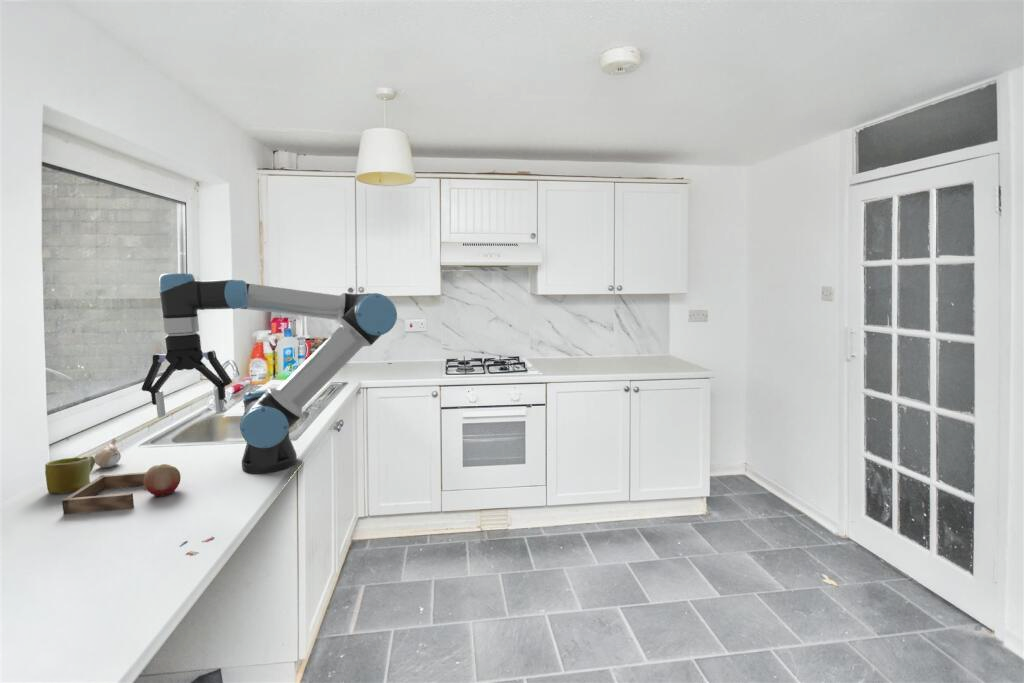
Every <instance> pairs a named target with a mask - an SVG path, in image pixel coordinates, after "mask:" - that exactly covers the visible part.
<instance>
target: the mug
mask: <svg viewBox="0 0 1024 683" xmlns="http://www.w3.org/2000/svg"><path fill="white" fill-rule="evenodd" d="M94 457H95V456H93V455H85V456H82V457H78V456H77V457H68V458H67V457H66V458H60V459H54V460H51V461H48V462H46V463H45V464H44V465H45V466H44V467H45V468H44V470H45V472H44V473H45V481H46V482H45V483H46V488H47V492H48V493H50V494H51V495H55V494H57V495H58V494H59V495H60V494H66V493H75V492H76V491H78V490H79V489H81V488H83V487H84V486H86V485H87V484H89V483H90V482H91V479H90V478H91V477H90V475H91V472H92V471H93V470H94V466H95V465H96V463H95V459H94Z"/></svg>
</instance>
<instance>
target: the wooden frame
mask: <svg viewBox="0 0 1024 683" xmlns="http://www.w3.org/2000/svg"><path fill="white" fill-rule="evenodd" d="M146 472H147V471H145V472H143V471H142V472H132V473H131V472H130V473H129V472H128V473H115V474H105V475H104V474H103V475H100V476H98V477H97V478H95V479H94V480H92V481H90V483H89V484H87V485H86V486H84V487H83V488H81V489H79V490H78V491H76V492H72V494H70V495H68V496H67V497H64V498H63V499H62V500H61V503H62V511H63V512H62V513H63V514H62V515H74V514H83V513H84V514H86V513H93V512H94V513H95V512H96V513H97V512H106V511H107V512H108V511H119V510H127V509H128V510H129V509H132V508H134V506H135V504H134V503H135V501H134V494H133V492H130V493H129V492H126V493H115V494H113V493H112V494H105V495H104V494H103V495H99V494H101V493H102V492H104V491H105V490H111V489H112V490H115V489H125V488H135V487H136V488H137V487H145V486H144V476H145V474H146Z"/></svg>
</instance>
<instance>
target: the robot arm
mask: <svg viewBox="0 0 1024 683" xmlns="http://www.w3.org/2000/svg"><path fill="white" fill-rule="evenodd" d="M159 294H160V295H159V296H160V302H161V310H162V320H163V331H164V333H165V334H166V336H165V337H164V338H165V346H166V354H163V353H156V354H153V355H152V364H151V366H150V369H149V370H148V372H147V375H146V377H145V379H144V382H143V384H142V386H141V390H142V391H143V392H149V393H150V395H151V397H150V398H151V403H152V405H153V406H156V413H157V418H158V419H159V418H161V419H162V418H163V417H165V416H166V408H165V398H164V391H163V390H161V388H163V386H164V384H165V383H166V382H167V381H168V379H169V378H170V377H171V376H172V375H173V373H174V372H175V371H176V370H177V371H184V370H188V371H191V370H194V369H195V370H196V371H198V372H199V373H201V374H202V375H203V376H204V377H205V378H206V379H207V380H208V381H209V382H211V383H212V384H213V385H214V386H215V388H214V389H213V393H214V402H215V411H216V414H220V413H222V412H223V411H224V408H223V400H224V399H226V388H225V387H226V386H229V385H230V384H232V382H233V380H232V379H231V377H230V375H228V373H227V371H226V370H225V368H224V367H223V366H222V364H221V363H220V361H219V360H218V358H217V353H216V351H215V350H214V349H213V350H209V351H206V352H203V351H202V345H201V344H202V342H201V335H200V334H199V331H200V326H199V317H198V316H199V314H198V311H199V310H200V311H204V310H229V309H230V310H237V309H240V310H250V311H251V310H252V311H259V312H268V313H277V314H283V315H292V316H293V315H294V316H302V317H311V318H318V319H324V320H325V319H326V320H335V321H337V322H338V323H339V324H340V326H339V327H338V328H336V330H335V331H334V332H333V333H332V334H331V335H329V337H328V338H327V339H326V340H325V341H324V342H323V343H321V345H320V346H319V347H318V348H317V349H316V350H315V351H314V352H313V353H311V355H310V356H309V357H308V358H307V359H305V361H303V363H302V364H300V366H299V367H297V369H295V370H294V372H293V373H291V374H290V375H289V377H287V378H286V380H284V381H283V382H282V383H280V385H279V386H278V387H275V388H274V387H273V388H271V387H270V388H268V389H264V390H263V389H262V390H261V389H259V390H254V391H247V392H245V393H244V394H243V400H242V402H243V405H244V408H243V409H244V412H243V415H242V417H241V419H240V422H239V431H240V434H241V437H242V438H243V439H244V440H245V442H246V445H245V447H244V451H243V456H242V458H241V470H242V471H244V472H246V473H250V474H263V473H264V474H266V473H273V472H278V471H281V470H284V469H285V470H286V469H287V468H290V467H292V466H294V465H295V464H296V463H297V461H298V459H297V458H298V457H297V456H298V455H297V452H296V450H295V448H294V445H293V442H292V441H291V438H290V429H291V428H292V427H293V426H294V424H296V423H297V421H299V420H300V419H301V418H302V417H303V408H304V407H305V406H306V405H307V404H308V403H309V402H310V401H311V399H312V398H313V397H315V396H316V395H317V394H318V392H319V391H320V390H321V389H322V388H324V387H325V386H326V384H328V382H329V381H330V380H331V379H333V377H334V376H335V375H336V374H338V372H339V371H340V370H341V369H342V368H343V367H344V366H345V365H346V364H348V362H349V361H350V360H351V359H352V358H353V357H354V356H355V355H357V353H358V352H360V350H361V349H362V348H363V347H371V346H373V344H375V343H376V342H377V340H378V339H380V337H381V336H384V335H386V334H387V333H389V332H390V331H391V330H392V329H393V328H394V327H395V324H396V323H397V319H398V312H397V308H396V306H395V304H394V302H393V301H392V300H391V299H390V298H388V297H387V296H386V295H384V294H382V293H377V292H376V293H375V292H374V293H373V292H372V293H346V292H343V293H341V294H340V295H337V294H336V295H335V294H328V293H322V292H314V291H309V290H308V291H307V290H300V289H293V288H292V289H291V288H286V287H278V286H277V287H276V286H268V285H264V284H263V285H262V284H255V283H247V282H246V281H245V280H243V279H242V280H241V279H238V280H237V279H222V280H221V279H220V280H196V279H195V277H194V275H193V274H192V273H185V272H184V273H162V274H161V275H160V276H159ZM203 358H205V359H206V360H207V361H209V363H210V365H211V367H212V368H213V369H214V371H215V373H213V371H212V370H211V369H210V368H208V367H207V366H206V364H205V363H204V362H202V360H203ZM165 360H166V361H167V362H168V363H169V365H168V366H167V367H166V369H165V370H164V372H163V373H162V374H161V375H160V377H159V378H158V379H157V380H156V382H155V383H154V381H155V379H156V377H157V375H158V373H159V370H160V369H161V367H162V363H164V362H165ZM216 374H217V375H218V376H217V375H216Z"/></svg>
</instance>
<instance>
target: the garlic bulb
mask: <svg viewBox="0 0 1024 683" xmlns="http://www.w3.org/2000/svg"><path fill="white" fill-rule="evenodd" d="M117 442H118V440H117V439H116V438H114V437H113V438H112V439H111V442H110V443H108V444H107V445H106V446H104V447H103V448H102V449H100V450H99V451H97V452H96V453H95V454H94V456H93V457H94V459H95V465H97V466H98V467H100V468H103V469H106V468H112V467H114V466H116V465H117V464H118V463H119V462H120V460H121V457H122V456H121V453H120V452H121V451H120V450H118V447H117V445H116V443H117Z"/></svg>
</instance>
